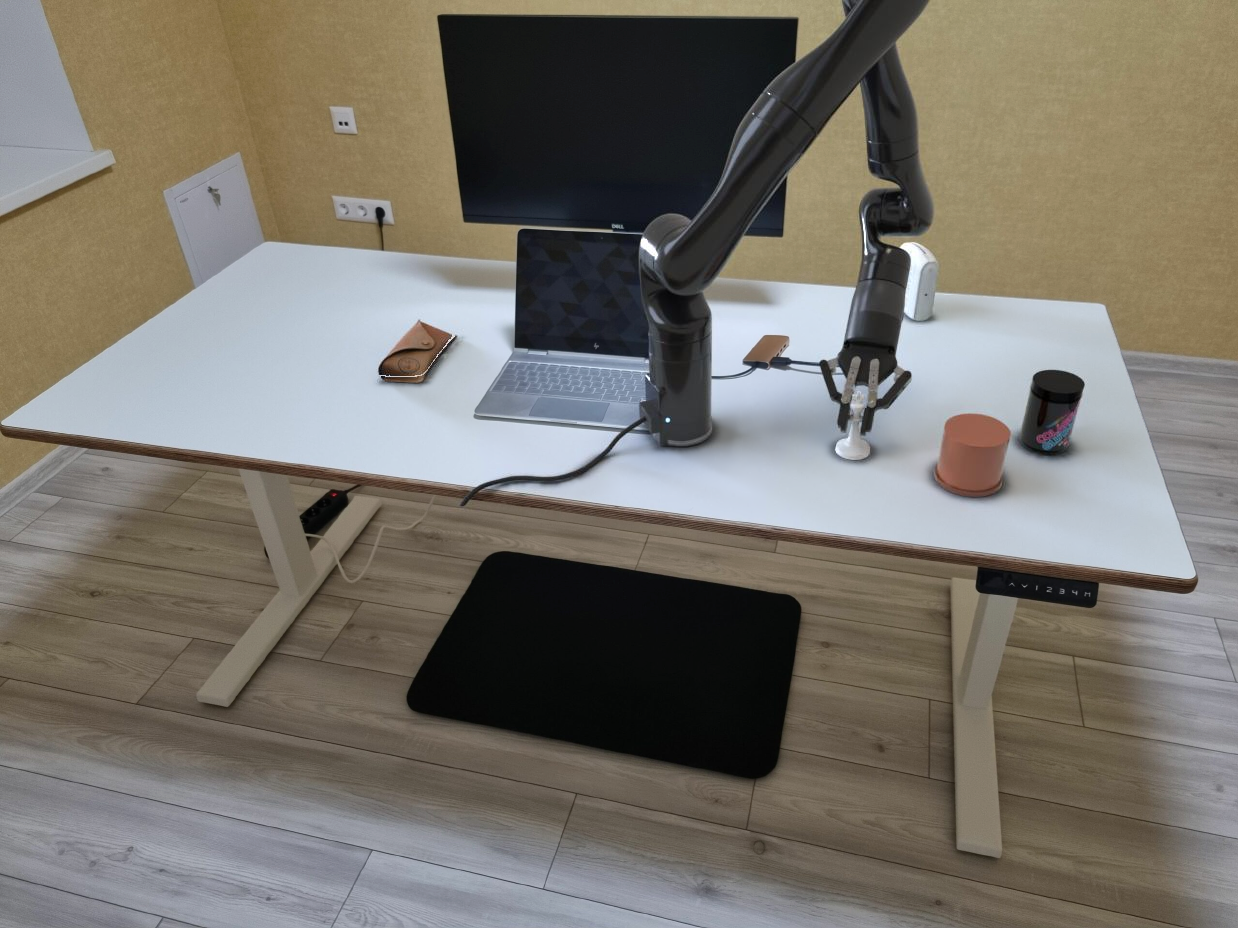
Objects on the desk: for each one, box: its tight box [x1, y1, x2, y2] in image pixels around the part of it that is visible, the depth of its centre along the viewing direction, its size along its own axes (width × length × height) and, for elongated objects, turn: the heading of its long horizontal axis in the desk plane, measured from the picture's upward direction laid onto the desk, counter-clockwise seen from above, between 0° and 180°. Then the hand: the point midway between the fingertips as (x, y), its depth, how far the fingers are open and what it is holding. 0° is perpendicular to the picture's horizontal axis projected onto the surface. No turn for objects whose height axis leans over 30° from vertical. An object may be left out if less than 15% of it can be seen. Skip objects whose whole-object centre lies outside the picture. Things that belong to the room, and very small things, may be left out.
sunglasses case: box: [377, 318, 458, 384], centre depth 166 cm, size 18×7×7 cm
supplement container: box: [1019, 369, 1086, 456], centre depth 132 cm, size 7×7×10 cm
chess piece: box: [834, 390, 871, 461], centre depth 133 cm, size 5×5×10 cm
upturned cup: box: [933, 412, 1011, 498], centre depth 126 cm, size 9×9×8 cm
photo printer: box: [899, 241, 940, 322], centre depth 169 cm, size 10×4×12 cm, turn 11°
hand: (853, 432), depth 132 cm, fingers closed on chess piece
